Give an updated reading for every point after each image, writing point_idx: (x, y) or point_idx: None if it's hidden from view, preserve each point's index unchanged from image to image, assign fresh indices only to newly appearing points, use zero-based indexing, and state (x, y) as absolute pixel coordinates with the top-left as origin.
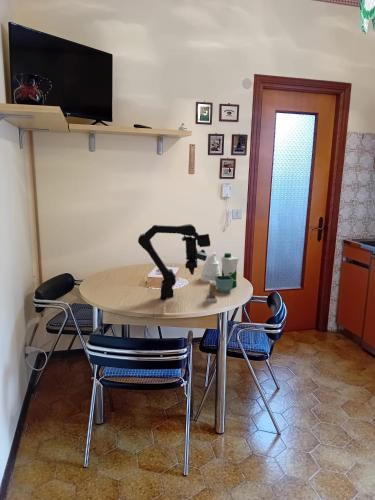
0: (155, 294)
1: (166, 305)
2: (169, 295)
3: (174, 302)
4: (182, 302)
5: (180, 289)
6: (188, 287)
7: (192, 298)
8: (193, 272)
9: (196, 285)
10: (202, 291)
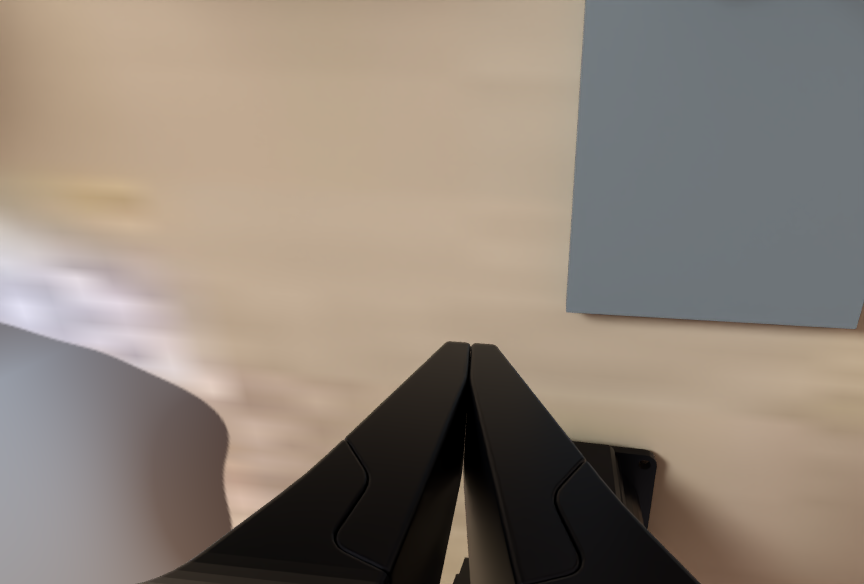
0: (444, 570)
1: (858, 526)
2: (635, 512)
3: (749, 433)
4: (764, 342)
5: (232, 323)
6: (133, 224)
7: None
8: (523, 391)
9: (23, 114)
10: (251, 29)
